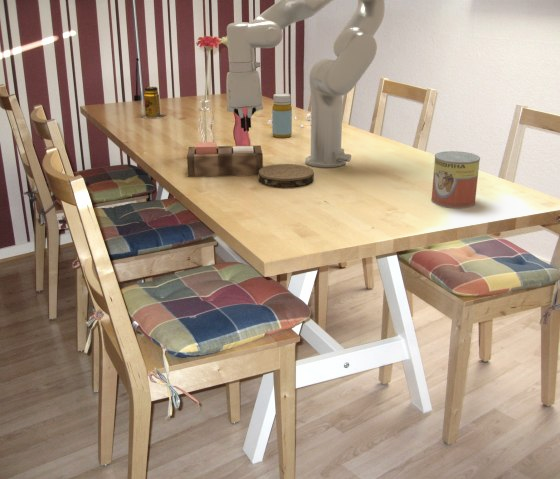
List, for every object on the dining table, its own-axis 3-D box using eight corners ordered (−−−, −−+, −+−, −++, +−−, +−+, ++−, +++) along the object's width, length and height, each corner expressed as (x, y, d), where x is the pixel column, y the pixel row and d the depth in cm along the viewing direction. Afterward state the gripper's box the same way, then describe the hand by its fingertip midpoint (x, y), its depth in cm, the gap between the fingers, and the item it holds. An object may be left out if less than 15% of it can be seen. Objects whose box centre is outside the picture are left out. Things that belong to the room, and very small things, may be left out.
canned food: (422, 201, 182) (426, 156, 178) (446, 192, 189) (450, 149, 185) (460, 211, 174) (464, 164, 170) (483, 201, 182) (488, 156, 177)
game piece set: (302, 118, 288) (302, 108, 286) (325, 127, 271) (325, 117, 269) (259, 121, 280) (259, 112, 279) (280, 131, 263) (280, 121, 262)
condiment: (141, 117, 286) (139, 88, 282) (151, 114, 294) (149, 85, 290) (157, 118, 284) (155, 89, 280) (167, 115, 292) (165, 86, 287)
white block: (253, 162, 213) (252, 146, 211) (253, 167, 208) (253, 150, 206) (233, 162, 213) (233, 146, 211) (233, 167, 207) (233, 151, 205)
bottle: (292, 134, 257) (292, 93, 251) (290, 138, 250) (290, 96, 245) (273, 133, 257) (273, 93, 252) (271, 138, 251) (271, 96, 245)
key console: (260, 164, 217) (260, 145, 214) (262, 174, 205) (262, 155, 203) (189, 165, 215) (188, 146, 213) (188, 176, 204) (187, 156, 202)
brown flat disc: (283, 170, 211) (283, 161, 210) (324, 180, 201) (325, 170, 200) (247, 181, 200) (246, 171, 199) (289, 192, 190) (289, 182, 189)
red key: (216, 158, 212) (216, 142, 210) (216, 163, 206) (216, 146, 204) (197, 158, 211) (196, 142, 210) (196, 163, 206) (195, 147, 204)
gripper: (267, 64, 204) (270, 126, 211) (216, 67, 203) (221, 129, 210) (269, 67, 197) (272, 131, 204) (216, 70, 196) (221, 134, 203)
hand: (246, 130), depth 207 cm, fingers closed
